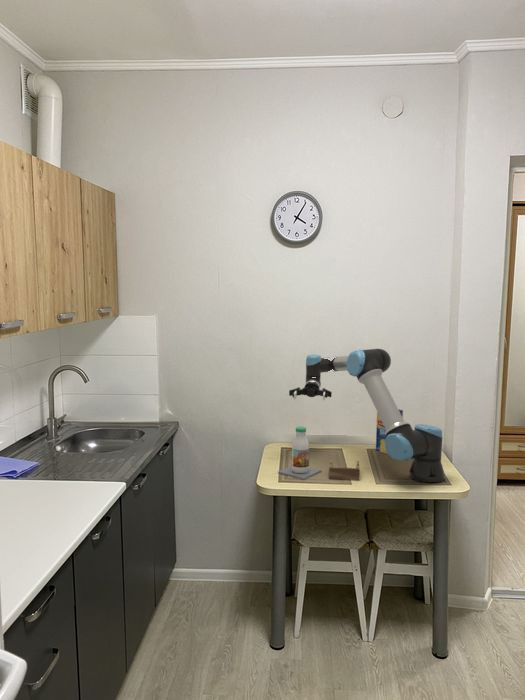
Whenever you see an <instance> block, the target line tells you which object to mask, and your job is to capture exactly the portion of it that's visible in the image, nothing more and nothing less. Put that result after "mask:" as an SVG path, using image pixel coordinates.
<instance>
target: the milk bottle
mask: <svg viewBox="0 0 525 700" xmlns="http://www.w3.org/2000/svg"><path fill="white" fill-rule="evenodd" d="M306 434H307V427H305V426H296V427H295V437H294V440H293V441H292V445H291V446H292V447H291V466H292V471H293V472H295V473H307V472H308V471H309V467H310V443H309V441H308V440H309V439H307V435H306Z"/></svg>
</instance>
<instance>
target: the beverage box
mask: <svg viewBox="0 0 525 700" xmlns="http://www.w3.org/2000/svg"><path fill="white" fill-rule="evenodd" d="M398 410H399V412H400V414H401V416H402V418H403V419H404V410H403V409H399V408H398ZM375 433H376V434H375V435H376V437H375V451H376V450H378V451H377V452H379V451H380V453H382V452H384V453H383V454H386V455H389V454H388V453H387V451H386V449H385V439H386V436H385V434H386V428H385V426H384V424H383V422H382V420H381V418H380V416H379V414H378V412H377V411H376V431H375Z"/></svg>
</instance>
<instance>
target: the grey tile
mask: <svg viewBox="0 0 525 700" xmlns="http://www.w3.org/2000/svg"><path fill="white" fill-rule="evenodd" d="M321 472H322V469H318V468H314V467H310V466H309V471H308V472H307V473H295V472H293V471H292V465H290V466H287V467H286V468H285V467H284V468H283V469H281V470H278V471H277V473H278V474H279V473H280V475H283V476H288V477H291V478H294V479H298V478H299V480H302V479H303V480H304V481H305V480H307V479H309V478H311V477H313V476H315V475H318V474H319V473H321Z"/></svg>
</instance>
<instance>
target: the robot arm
mask: <svg viewBox="0 0 525 700" xmlns="http://www.w3.org/2000/svg"><path fill="white" fill-rule="evenodd" d="M321 356H322V355H319V354H308V355H307V356H306V360H305V368H306V369H305V373H306V374H305V385H304V387H303V388H300V387H296V388H292V389H290V390H289V393H288V394H289V395H288V396H290V397H292V398H293V400H296V399H297V396H302V395H303V396H307V397H309V398H314V397H316V396H317V397H318V396H319V397H322V401H325V399H326V398H328V397H329V398H332V391H330V390H328V389H326V388H325V387H323V388H321V385H322V384H321V374H323V373H329V372H328V371H330V370H332V369H333V370H334V371H333V372H344V371H345V372H346V371H347V372H348V374H349V375H350V376H352V377H356V379H357V381H358V383H359V384H362V385H364V388H365V389H366V390H365V391H367V394H368V396H369V398H370V399H371V402H372V404H373V405H374V408H375V411H376V413H377V412H378V414H379V416H380V418H381V420H382V422H383V424H384V426H385V428H386V434H385V436H386V439H385V449H386V451H387V453H388V454H387V455H388V456H389V457H390V458H391V459H393V460H394V461H398V462H400V461H401V462H403V461H409V460H412V462H411V465H410V468H409V470H408V477H409V478H410V479H411V478H412V479H411V480H413V479H414V481H416V480H417V481H416V482H420V481H422V482H421V483H425V482H438V483H441V481H442V482H444V481H443V480H445V477H446V476H445V475H446V474H445V471H444V467H443V463H442V451H443V430H442V429H441V428H440V427H438V426H434V425H430V424H429V425H428V424H422V423H421V424H420V423H419V424H418V423H417V424H415V426H414V429H413V427H412V426H411V424H410V423H409V422H406V421H405V420H404V417H403V418H402V416H401V414H400V412H399V410H400V409H399V408H398V405H397V404H396V402H395V400H394V398H393V397H392V394H391V392H390V390H389V389H388V386H387V384H386V382H385V381H384V379H383V377H382V375H383V373H385V372H386V371H388V370H389V368H390V367H391V364H392V359H391V356H390V353H388V351H386V350H385V349H382V348H371V349H357V350H353V351H351V352H350V354H349V355H343V356H335V357H336V358H334V359H333V360H332V361H330V360H328V359H324V358H325V357H321ZM312 377H316V378H312ZM398 409H399V410H398Z"/></svg>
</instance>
